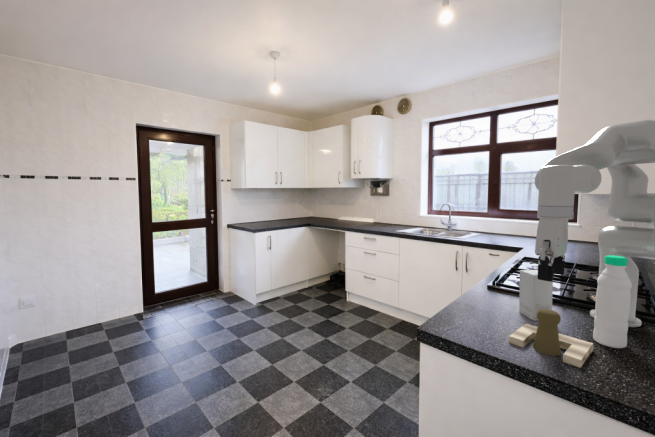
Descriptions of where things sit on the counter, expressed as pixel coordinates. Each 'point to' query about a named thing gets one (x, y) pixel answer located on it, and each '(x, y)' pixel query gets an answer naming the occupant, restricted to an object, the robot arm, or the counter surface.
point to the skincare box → (534, 294)
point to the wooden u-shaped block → (574, 347)
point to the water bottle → (612, 303)
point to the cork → (547, 333)
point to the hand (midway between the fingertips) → (551, 276)
